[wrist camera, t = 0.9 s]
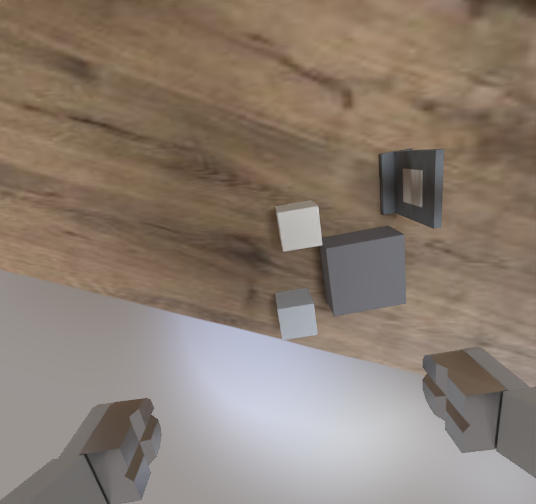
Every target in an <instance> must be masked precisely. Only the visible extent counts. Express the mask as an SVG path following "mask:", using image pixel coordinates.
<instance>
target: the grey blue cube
mask: <svg viewBox="0 0 536 504" xmlns="http://www.w3.org/2000/svg"><path fill="white" fill-rule="evenodd" d="M275 296H276V303H277V311H278V316H279V322H280V328H281V334H282V339H283V340H288V339H294V338H300V337H306V336H312V335H318V333H317V325H316V317H315V309H314V303H313V300H312V297H311V295H310V292H309V290H308V288H302V289H296V290H290V291H284V292H278V293H275Z"/></svg>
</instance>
